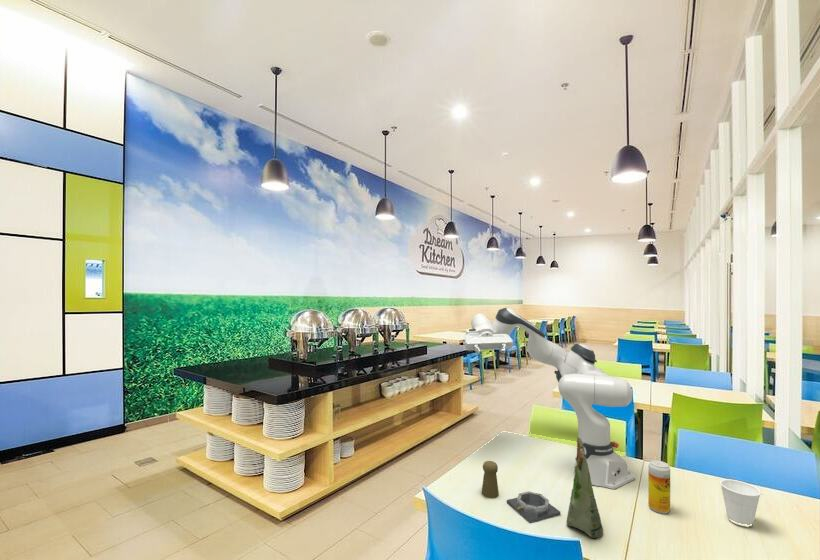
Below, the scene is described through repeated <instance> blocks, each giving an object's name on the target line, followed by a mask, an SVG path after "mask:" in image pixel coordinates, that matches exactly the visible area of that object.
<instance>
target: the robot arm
mask: <svg viewBox="0 0 820 560" xmlns="http://www.w3.org/2000/svg"><path fill="white" fill-rule="evenodd" d="M470 323H471V326H470V327H471V328H468V329H466V330H465V336H464V349H465V350H466V351H474V352H476V353H478V355H483V351H487V350H491V351H492V350H493V351H494V350H500V353H501V354H506V350H510V349H511V350H512V349H513V348H514V341H513V338H511V335H512V332H514V329H515V328H517V327H518V328H520V329H522V330H524V331H525V332H527V333H528V340H527V343H526V344H527V347H526V349H527V353H528V356H530V358H531V359H533V360H534V361H536V362H539V363H542V364H544V365H548V366H552V367H554V368H555V369H557V370H554V374H555V378H556V381H557V383H558V385H557V386H558V387H557V388H558V392H559V395H561V397H562V398H563V400H565V401H566V402H567V403H568V404H569V405H570V406H571V407H572V409H573V411H574V413H575V415H576V418H577V427H578V430H577V431H578V436H577V440H576V447H577V448H578V439H579V438H580V439H581V441H582V443H583V446H584V451H585V456H586V460H587V464H588V468H589V473H590V477H591V483H592V486H597V487H603V488H607V489H612V490H615V489H618V488H620V487H621V486H622V487H623V486H624V485H626V484H628V483H630V482H632V481H634V480H636V478H635V474H633V473H632V472H630V470H628V464H627V463H628V462H627V461H626V460H625V459H624V458H623V457H621V456H620V455H619V454H618V453H617V452H616V451H615V450H614V449H619V446H620V444H619V443H618V442H616V441H611V423H610V421H609V420H608V418H607V417H606V416H605V415H603V414H602V413H600V412H598V411H597V410H596V409H594V407H593V406H594V405H595V406H601V407H603V406H604V407H610V408H612V407H613V408H615V407H616V408H617V407H627V406H628V405H629V404H630V403H631V402H632V400H633V395H634V393H633V389H632V386H631V384H630V383H629V382H628V381H627V380H625V379H622V378H618V377H615V376H611V375H609V374H606V372H605V371H603V370H602V369H601V368H599V367H597V366H595V363H598V360H597V359H596V354H595V352H594V350H593V349H592V348H591V347H589V346H588V345H586V344H584V343H574V344H573V345H572V346H571V348H570V351H569V352H568V353H567V351H566V350H565V348H563V347H562V346H560V345H559V344H557V343H555V342H553V341H550V340H549V339H547V338H546V334H545V333H544V332H543V330H541V328H539V327H538V326H536V325H535V324H534V323H532V322H530V321H529V320H527V319H525V317H524V318H523V316H521V315H519V314H518V313H517V312H515V311H514V310H513V309H512V308H510V307H503V308H501V309H499V310H497V313H496V315H495V317H494V319H493V321H492V323H491V321H490V319H489V318H488V316H486V314H484V313H482V312H480V313H479V312H478V313H476V314H474V315H473V316H472V318H471V321H470ZM592 405H593V406H592ZM577 448H576V449H577ZM576 457H577V455H576ZM576 457H575V458H576ZM573 465H574V466H573V468H574V470H573V476H575V466H576V465H577V461H576V460H575V463H574V464H573Z"/></svg>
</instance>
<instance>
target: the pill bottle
mask: <svg viewBox="0 0 820 560" xmlns="http://www.w3.org/2000/svg"><path fill="white" fill-rule="evenodd" d="M669 465H670V464H669V463H667V462H665V461H663V460H658V459H652V460H650V461H649V463H648V493H647V494H648V495H647V496H648V497H647V498H648V503H647V504H648V506H649V507H650V509H651V510H652V511H653V512H655V513H658V514H662V515H663V514H664V515H666V514H668V513H669V512H670V511H671V468H670V466H669Z"/></svg>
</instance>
